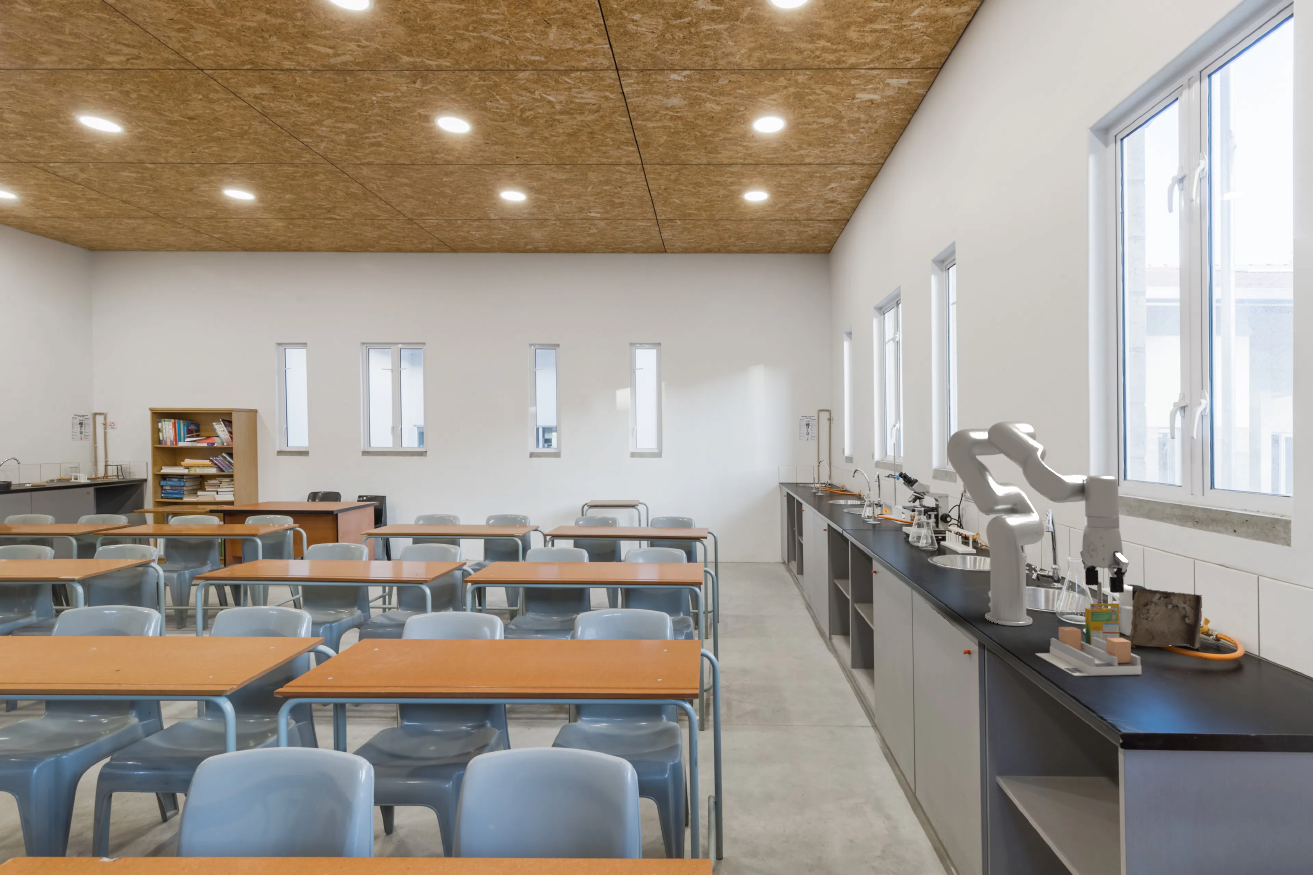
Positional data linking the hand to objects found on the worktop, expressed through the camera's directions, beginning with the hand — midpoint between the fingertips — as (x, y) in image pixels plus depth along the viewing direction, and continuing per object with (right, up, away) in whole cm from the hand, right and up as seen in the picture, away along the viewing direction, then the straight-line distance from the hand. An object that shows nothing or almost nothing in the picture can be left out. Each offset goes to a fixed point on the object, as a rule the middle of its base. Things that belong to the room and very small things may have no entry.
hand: (1104, 588), depth 185 cm
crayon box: (0, -16, +1) cm, 16 cm away
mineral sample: (+15, -15, -1) cm, 21 cm away
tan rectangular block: (-13, -13, -8) cm, 20 cm away
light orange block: (-8, -13, -18) cm, 23 cm away
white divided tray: (-13, -16, -13) cm, 24 cm away
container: (+17, -15, +13) cm, 26 cm away
